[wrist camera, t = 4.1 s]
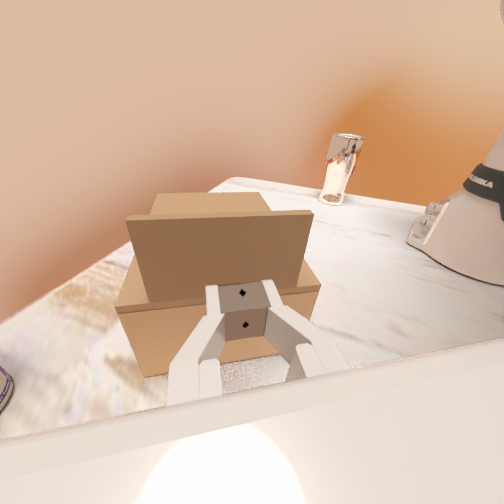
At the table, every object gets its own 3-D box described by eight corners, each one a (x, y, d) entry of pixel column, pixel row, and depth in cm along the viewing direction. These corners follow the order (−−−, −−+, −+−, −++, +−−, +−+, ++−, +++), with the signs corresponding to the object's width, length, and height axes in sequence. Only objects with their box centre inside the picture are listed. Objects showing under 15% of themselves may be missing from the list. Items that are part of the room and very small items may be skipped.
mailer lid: (319, 290, 17) (344, 213, 13) (117, 313, 14) (78, 222, 10) (258, 196, 33) (262, 149, 29) (158, 197, 30) (149, 146, 26)
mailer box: (299, 350, 21) (318, 291, 17) (144, 377, 18) (117, 314, 14) (254, 242, 37) (258, 196, 33) (167, 247, 34) (158, 198, 30)
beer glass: (335, 208, 52) (356, 138, 44) (311, 199, 56) (326, 133, 48) (349, 202, 56) (371, 136, 48) (326, 194, 60) (342, 132, 52)
